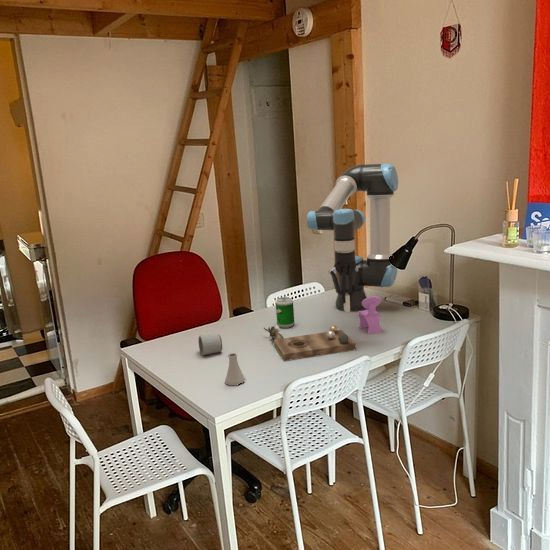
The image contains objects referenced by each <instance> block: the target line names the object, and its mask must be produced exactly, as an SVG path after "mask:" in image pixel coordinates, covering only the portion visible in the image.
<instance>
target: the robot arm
mask: <svg viewBox="0 0 550 550" xmlns="http://www.w3.org/2000/svg"><path fill="white" fill-rule="evenodd" d="M398 188H399V176H398V172H397V168H396V167H395V166H394V165H393V164H392V163H373V164H372V163H371V164H357V165H354V166H352V167H349V168H348V169H347V170H345V171H344V172H342V173H341V174H340V175H339V176H338V178H337V179H336V181H335V186H334V187H333V189H332V190H331V191H330V192H329V194H328V195H327V197H326V199H324V201H323V203H322V204H321V205H320V207H319V208H318V209H317V210H311V211H308V212H307V214H306V221H305V222H306V225H307V228H308V229H310V230H311V231H333V237H334V250H335V252H334V262H335V263H334V265H333V268H332V269H329V270H328V273H329V274H330V275H331V279H332V282H333V286H334V289H335V292H336V294H337V296H336V299H335V308H336V309H337V310H339V311H344V312H346V313H349V312H359V311H364V310H367V309H366V308H364V307H363V306H362V301H363V300H364V299H366V298H368V297H367V294H366V291H365V287H378V288H379V287H380V288H390V287H392V286H394V284H395V282H396V279H397V276H398V275H397V274H398V269H397V268H396V267H394V266H393V265H392V264H391V263H390V262H389V257H390V256H393V255H392V254H391V250H390V249H391V245H390V244H391V226H390V225H391V199H392V198H393V196H394V195H395V193H394V192H396V191H398ZM356 192H366V197H368V199H369V200H370V203H369V205H370V206H369V209H370V210H369V212H370V215H369V217H370V220H369V221H370V224H369V225H370V226H369V232H370V234H369V235H370V236H369V239H370V240H369V241H370V243H369V246H370V247H369V249H370V251H369V252H370V253H369V254H368V255H367V256H366V260H364V257H363V255H361V256H360V255H356V251H355V250H356V244H355V239H356V238H355V231H356V230H360V229H361V228H362V227H363V226H364V224H365V222H366V218H365V217H366V216H365V214H364V213H363V212H362V211H361V210H359V209H351V208H343V207H344V205H345V203H346V202H347V201H348V200H349V197H351V196H353V195H354V194H355V193H356Z"/></svg>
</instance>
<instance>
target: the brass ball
mask: <svg viewBox="0 0 550 550" xmlns="http://www.w3.org/2000/svg"><path fill="white" fill-rule="evenodd" d="M337 330H338V327H337V326H336V325H331V326H330V328H329V331H333V332H334V333H336V332H337Z"/></svg>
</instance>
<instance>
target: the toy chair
mask: <svg viewBox="0 0 550 550" xmlns="http://www.w3.org/2000/svg"><path fill="white" fill-rule="evenodd" d="M381 301H382V300H381V297H379V296H377V295H375V296H374V295H372V296H368V297H367V298H366V299H364V300H363V301H362V306H363V307H364V308H366V309H364V310H359V311H358V319H359V326H358V329H363V328H368V331H367V335H372V334H377V333H382V332H383V330H382V329H381V326H380V320H381V315H380V314H381V313H380V312H378V311H376V308H377V306H379V304H380V303H381Z"/></svg>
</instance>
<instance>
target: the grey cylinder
mask: <svg viewBox="0 0 550 550" xmlns="http://www.w3.org/2000/svg"><path fill="white" fill-rule="evenodd" d="M197 340H198V350H199V352H200V355H201V356H206V355H211V354H216V353H219V352H221V351H222V350H223V340H222V337H221V335H220V334H219V333H212V334H202V335H201V334H200V335H198V339H197Z"/></svg>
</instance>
